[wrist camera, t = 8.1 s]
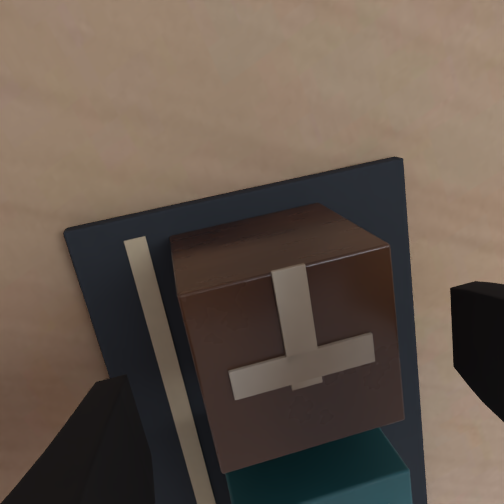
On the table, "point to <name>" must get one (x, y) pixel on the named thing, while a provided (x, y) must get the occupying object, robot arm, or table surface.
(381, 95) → the table surface
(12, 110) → the table surface
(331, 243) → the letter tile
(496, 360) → the robot arm
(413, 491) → the word mat
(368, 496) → the teal letter tile
